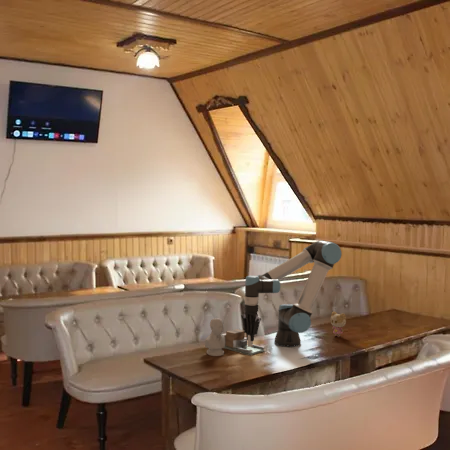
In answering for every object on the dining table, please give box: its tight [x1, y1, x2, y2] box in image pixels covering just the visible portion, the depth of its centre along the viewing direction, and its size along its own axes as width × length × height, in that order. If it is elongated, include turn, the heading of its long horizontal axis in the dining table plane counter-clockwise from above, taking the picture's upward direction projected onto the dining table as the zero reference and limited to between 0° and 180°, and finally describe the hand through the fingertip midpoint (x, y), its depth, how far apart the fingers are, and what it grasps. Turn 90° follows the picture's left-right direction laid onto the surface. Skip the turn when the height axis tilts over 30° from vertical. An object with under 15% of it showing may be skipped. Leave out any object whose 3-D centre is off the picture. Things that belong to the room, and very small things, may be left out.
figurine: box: [204, 317, 225, 357], centre depth 317 cm, size 9×13×20 cm
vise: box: [221, 332, 265, 356], centre depth 328 cm, size 12×22×7 cm, turn 47°
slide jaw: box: [233, 337, 248, 348], centre depth 328 cm, size 10×4×4 cm, turn 137°
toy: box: [330, 311, 347, 338], centre depth 364 cm, size 10×8×15 cm
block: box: [225, 328, 246, 348], centre depth 331 cm, size 9×6×8 cm, turn 137°
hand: (250, 346), depth 324 cm, fingers closed
